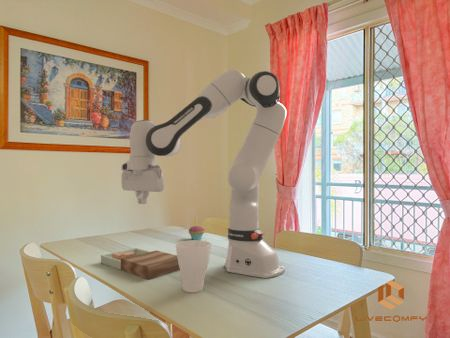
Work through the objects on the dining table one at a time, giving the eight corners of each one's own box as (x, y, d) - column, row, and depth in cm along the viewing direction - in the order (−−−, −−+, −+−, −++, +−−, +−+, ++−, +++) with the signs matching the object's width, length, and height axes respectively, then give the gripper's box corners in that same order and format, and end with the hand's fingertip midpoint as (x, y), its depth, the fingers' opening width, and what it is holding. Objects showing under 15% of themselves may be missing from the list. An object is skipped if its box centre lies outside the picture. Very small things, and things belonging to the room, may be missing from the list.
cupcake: (187, 238, 170) (187, 216, 170) (202, 237, 172) (202, 215, 172) (190, 241, 161) (190, 218, 162) (206, 240, 164) (206, 217, 164)
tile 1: (121, 252, 125) (121, 259, 125) (112, 254, 121) (112, 261, 121) (127, 253, 122) (127, 261, 122) (118, 255, 119) (118, 263, 119)
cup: (217, 288, 95) (218, 243, 95) (191, 298, 87) (192, 249, 88) (194, 280, 102) (194, 238, 102) (168, 289, 94) (168, 243, 95)
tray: (156, 260, 125) (156, 253, 126) (120, 269, 113) (120, 261, 113) (136, 255, 134) (136, 248, 134) (100, 263, 121) (101, 255, 121)
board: (184, 268, 116) (184, 257, 116) (149, 279, 103) (149, 267, 103) (156, 260, 125) (156, 250, 126) (120, 269, 113) (120, 258, 113)
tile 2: (130, 262, 121) (135, 263, 119) (121, 264, 118) (126, 266, 116) (130, 251, 121) (135, 253, 119) (121, 253, 118) (126, 255, 116)
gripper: (168, 165, 110) (168, 204, 110) (132, 166, 123) (132, 201, 123) (153, 164, 106) (153, 206, 105) (118, 165, 118) (118, 202, 118)
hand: (142, 203), depth 114 cm, fingers closed
